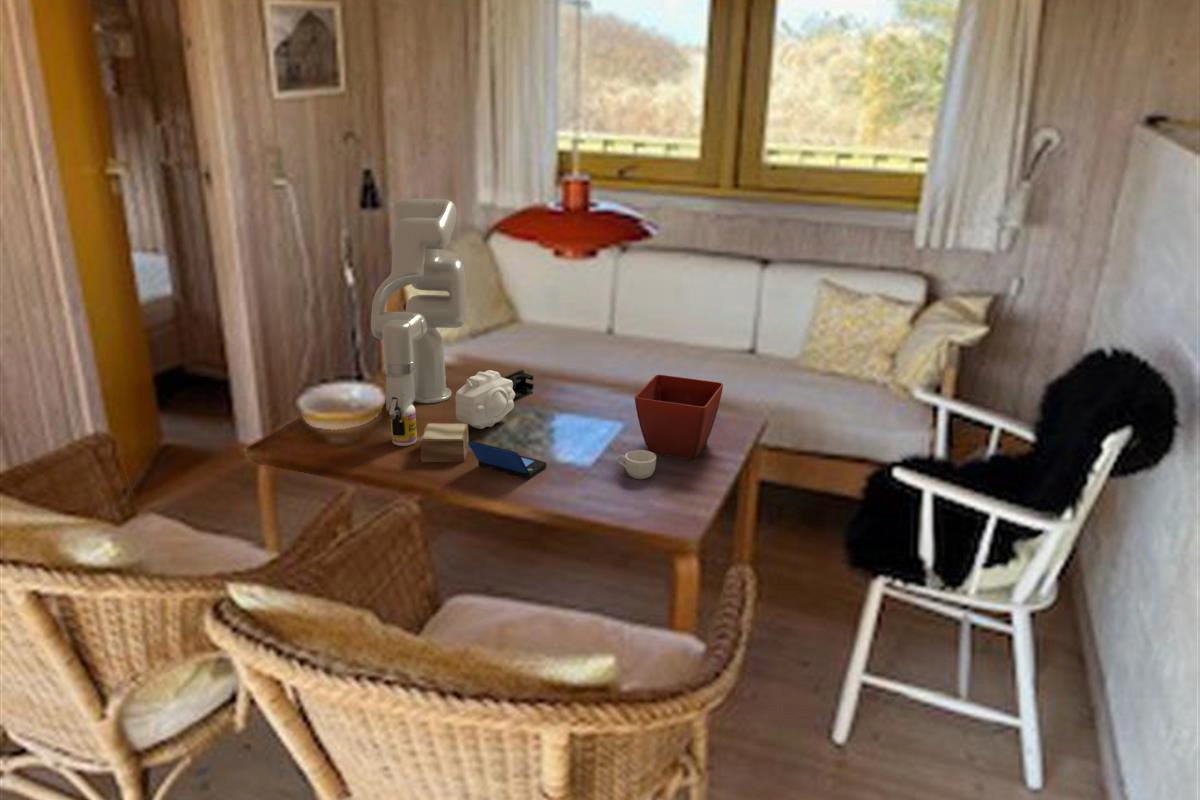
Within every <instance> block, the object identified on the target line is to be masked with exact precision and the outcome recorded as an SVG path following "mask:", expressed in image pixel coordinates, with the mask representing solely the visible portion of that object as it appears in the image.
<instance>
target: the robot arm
mask: <svg viewBox="0 0 1200 800" xmlns="http://www.w3.org/2000/svg"><path fill="white" fill-rule="evenodd" d="M393 215H394V218H395V220H396V223H395V226H394V231H393V242H392V243H393V244H392V245H393V246H392V258H391V272H390V274H389V275H388V276H387V278H386V279H385V280H384V281H382V283H380V285H379V287H378V288H377V290H376V292H375V294H374V296H373V300H372V305H371V317H370V326H371V327H370V328H371V333H372V335H373V337H374V338H376V339H378V340H379V341H381V340H382V344H383V345H382V346H383V360H384V371H385V372H384V374H385V375H386V378H385V379H386V380H385V406H386V407H385V408H386V411H387V412H388V413H389V418H390V422H391V421H392V428H393V435H398V436H404V435H405V425H404V421H403V413H404V411H405V410H406V409H407V408H408V407H409V405H413V406H414V403H419V404H420V403H421V404H435V403H436V404H437V403H440V402H445V401H447V400H449V399H450V398H451V397H452V393H453V392H452V390H451V389H450V388H448V387H447V381H446V380H447V375H446V364H445V363H446V360H445V359H446V358H445V357H446V356H445V341H444V338H443V336H442V334H441V332H440V331H439V330H438V329H437V328H439V329H440V328H442V329H448V328H449V329H455V328H461V327H463V326H464V325H465V324H466V320H467V285H466V284H467V283H466V279H467V278H466V270H465V266H464V263H463V262H462V261H461V260H460V259H457V258H454V257H453V258H450V257H440V255H439V250H443V249H445V248H447V246H448V245H449V243H450V241H451V238H452V234H453V233H454V229H455V226H456V222H457V218H458V217H457V207H456V205H455V203H454V202H453V201H451V200H449V199H444V198H442V199H441V198H438V199H437V198H404V199H403V198H402V199H399V200H397V201H396V202H395V203H394V204H393ZM409 285H411V286H412V288H414V289H415V290H418V291H430V292H431V291H433V292H437V291H438V292H448V294H449V295H447V294H446V295H444V294H443V295H442V294H417V295H413V296H411V297H410V298H408V300H407V302H406V305H405V311H385V309H386V303H387V301H388V300H389V298H390V297H391V296H392V295H393V294H394V293H396V292H397V291H399V290H401V289H402V288H404V287H407V286H409ZM410 398H411V403H410V404H409V400H410ZM414 407H415V406H414ZM397 408H401V410H396V409H397ZM396 413H400V417H399V416H398V415H396Z"/></svg>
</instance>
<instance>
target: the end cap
mask: <svg viewBox="0 0 1200 800" xmlns="http://www.w3.org/2000/svg"><path fill="white" fill-rule="evenodd" d="M501 377H502V376H501ZM502 378H505V379H509V380H511V381H512V382H513V391H514V392H515V397H514V399H513V402H517V401H520V400H521V399H524V398H526V397H528V396H530V395H532V394H533V393H534V392H533V390H534V383H531V382H527V380H530V381H534V375H533V374H529V373H527V372H525V370H524V369H519V370H518V371H517V370H516V371H514V372H512V373H510V374H507V375H505V376H503V377H502Z"/></svg>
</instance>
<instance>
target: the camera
mask: <svg viewBox="0 0 1200 800" xmlns="http://www.w3.org/2000/svg"><path fill="white" fill-rule="evenodd" d="M514 397H515V392H514V391H513V382H512V381H511V380H509V379H505V378H502V376H501V374H500V372H498V371H495V370H491V369H490V370H486V371H478V372H476V374H475V375H474V376H473V375H472V376H470V377H469V378H466V384H464V385H463V386H461V387H460V388H459V389H458V390H456V393H455V398H454V400H455V417H456V420H457V421H458V422H462V423H463V424H468V425H470V426H471V427H472V428H475V429H478V430H482V429H485V428H487V427H489V428H492V427H494V425H495V424H496V423H499V422H500V421H501V420H502V419H503V418H504V417H506V415H508V413H510V412H511V411H512V410H513V409H514V407H515V404H514V401H513V399H514Z"/></svg>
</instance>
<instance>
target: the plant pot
mask: <svg viewBox="0 0 1200 800" xmlns="http://www.w3.org/2000/svg"><path fill="white" fill-rule="evenodd" d="M723 389H724V383H723V382H719V381H713V380H712V381H710V380H703V379H697V378H696V379H695V378H688V377H681V376H673V375H668V374H667V375H666V374H656V375H654V376H653V377H652V378H651V379H650V380H649V381H648V382H647V383H646V384H645V385H644V386H643V387H642V388H641V389H640V390H639V391H638V392H637V393H636V395H634V402H635V409H636V414H637V419H638V423H639V428H640V431H641V434H642V437H643V440H644V442H645V446H646V449H647V451H650V452H652V453H654V454H655V455H659V456H666V457H673V458H678V459H684V460H691V461H693V460H695V459H696V458H697V457H698V456H699V454H700V453H701V452H702V450H703V449H704V447H705V445H706V444H707V443H708V440H709V437H710V435H711V432H712V430H713V426H714V424H715V420H716V417H717V415H718V414H717V413H718V411H719V407H720V403H721V399H722V394H723Z"/></svg>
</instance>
